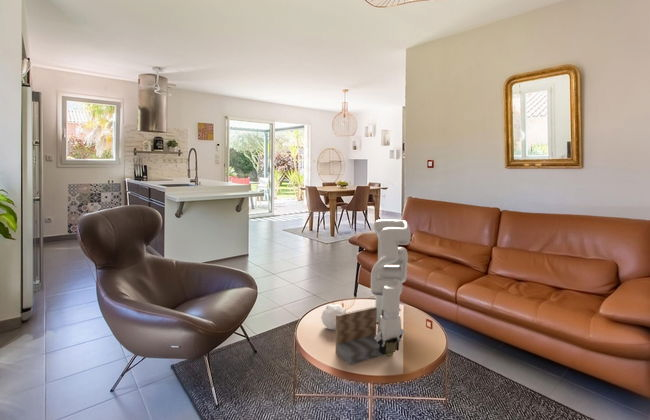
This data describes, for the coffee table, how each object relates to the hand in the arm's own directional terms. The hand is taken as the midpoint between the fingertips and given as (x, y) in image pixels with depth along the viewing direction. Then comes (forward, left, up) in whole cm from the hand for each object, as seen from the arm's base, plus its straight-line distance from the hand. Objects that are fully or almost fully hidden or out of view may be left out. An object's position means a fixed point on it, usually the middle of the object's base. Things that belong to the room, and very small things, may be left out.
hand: (389, 350), depth 160 cm
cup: (0, 0, -2) cm, 2 cm away
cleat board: (+6, -11, -4) cm, 13 cm away
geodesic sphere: (+5, -39, -5) cm, 40 cm away
